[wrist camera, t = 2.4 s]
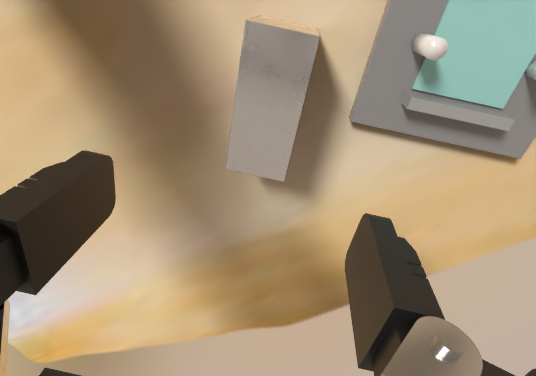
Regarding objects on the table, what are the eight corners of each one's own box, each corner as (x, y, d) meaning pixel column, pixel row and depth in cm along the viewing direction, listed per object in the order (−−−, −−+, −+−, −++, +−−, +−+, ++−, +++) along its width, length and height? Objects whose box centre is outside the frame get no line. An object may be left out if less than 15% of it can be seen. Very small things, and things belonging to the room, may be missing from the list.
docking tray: (348, 117, 25) (355, 136, 21) (467, -239, 15) (512, -307, 12) (513, 153, 25) (546, 178, 21) (728, -179, 16) (848, -231, 12)
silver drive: (241, 136, 27) (225, 169, 21) (260, 15, 22) (245, 19, 17) (288, 146, 27) (283, 181, 21) (317, 27, 22) (320, 36, 17)
